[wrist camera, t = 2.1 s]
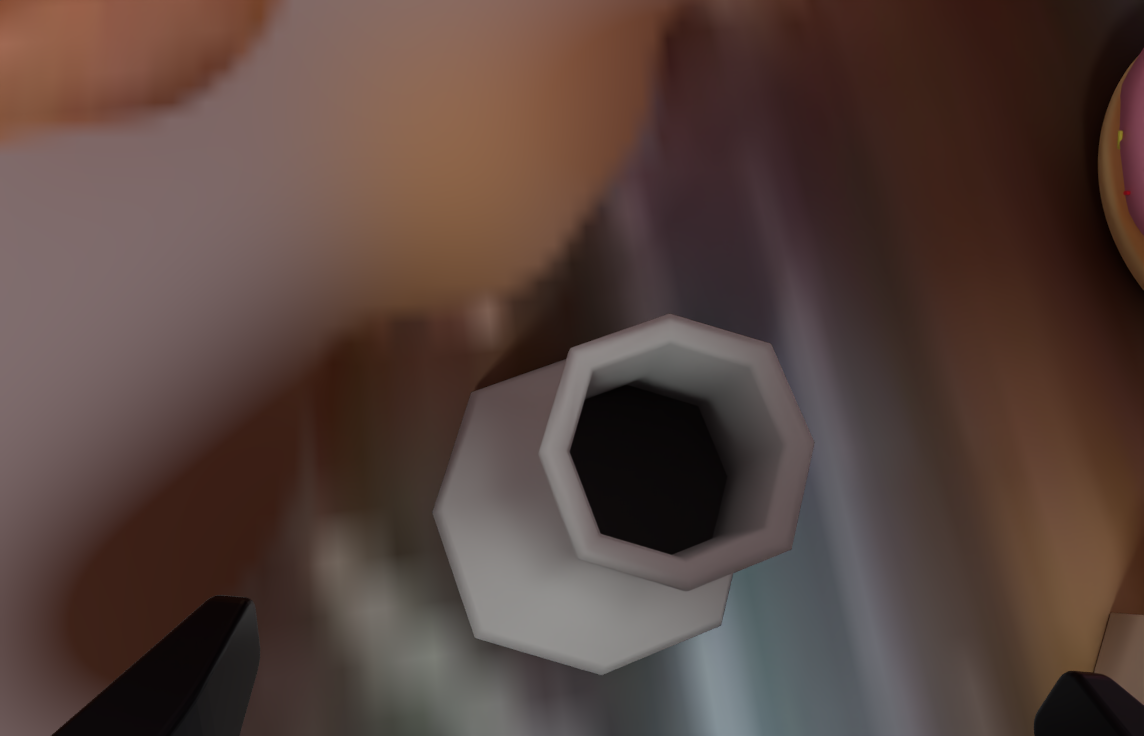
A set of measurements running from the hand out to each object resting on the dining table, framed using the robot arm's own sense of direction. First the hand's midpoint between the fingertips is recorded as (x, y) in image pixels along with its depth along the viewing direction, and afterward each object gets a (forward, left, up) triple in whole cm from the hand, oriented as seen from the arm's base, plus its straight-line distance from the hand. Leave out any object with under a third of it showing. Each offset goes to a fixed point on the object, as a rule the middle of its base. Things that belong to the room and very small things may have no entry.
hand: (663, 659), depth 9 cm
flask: (+2, +1, -10) cm, 10 cm away
